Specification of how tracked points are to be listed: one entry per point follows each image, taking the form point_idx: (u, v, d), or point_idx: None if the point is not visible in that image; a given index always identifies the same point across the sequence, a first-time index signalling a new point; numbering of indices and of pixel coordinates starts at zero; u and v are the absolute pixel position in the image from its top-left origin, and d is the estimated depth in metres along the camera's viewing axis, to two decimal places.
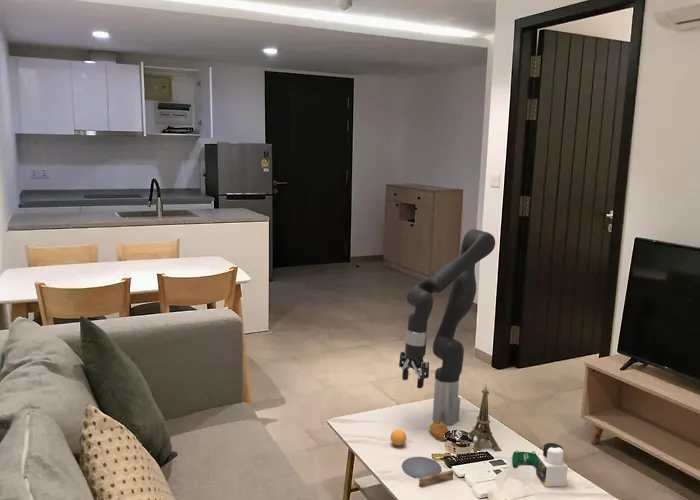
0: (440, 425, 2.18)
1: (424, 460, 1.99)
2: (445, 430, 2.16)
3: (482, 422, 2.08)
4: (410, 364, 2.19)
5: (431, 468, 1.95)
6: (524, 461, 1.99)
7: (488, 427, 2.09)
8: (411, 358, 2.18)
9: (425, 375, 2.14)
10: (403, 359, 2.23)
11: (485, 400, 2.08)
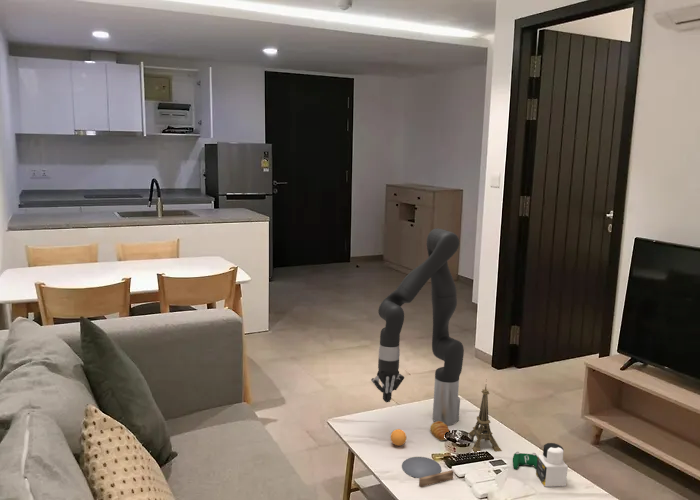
0: (441, 425, 2.18)
1: (424, 460, 1.99)
2: (446, 430, 2.16)
3: (482, 422, 2.08)
4: (389, 378, 2.13)
5: (431, 468, 1.95)
6: (525, 463, 1.98)
7: (488, 427, 2.09)
8: (388, 374, 2.13)
9: (394, 385, 2.16)
10: (379, 384, 2.13)
11: (485, 400, 2.08)
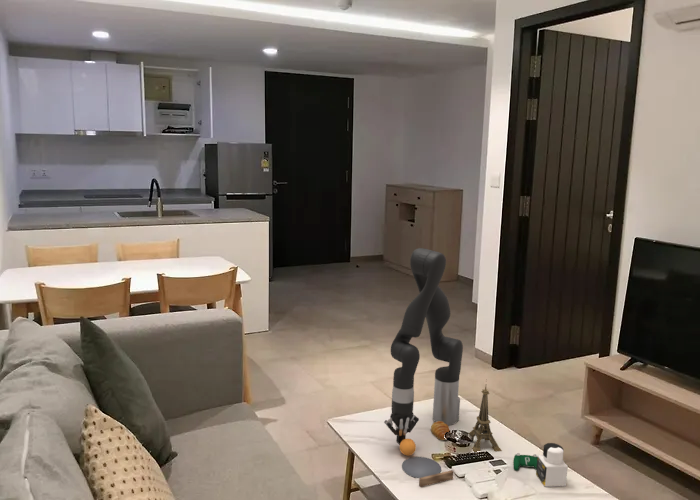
0: (442, 425, 2.18)
1: (424, 460, 1.99)
2: (447, 430, 2.16)
3: (482, 422, 2.08)
4: (403, 420, 2.05)
5: (431, 468, 1.95)
6: (525, 464, 1.97)
7: (488, 427, 2.09)
8: (402, 416, 2.04)
9: (408, 427, 2.07)
10: (392, 426, 2.04)
11: (485, 400, 2.08)
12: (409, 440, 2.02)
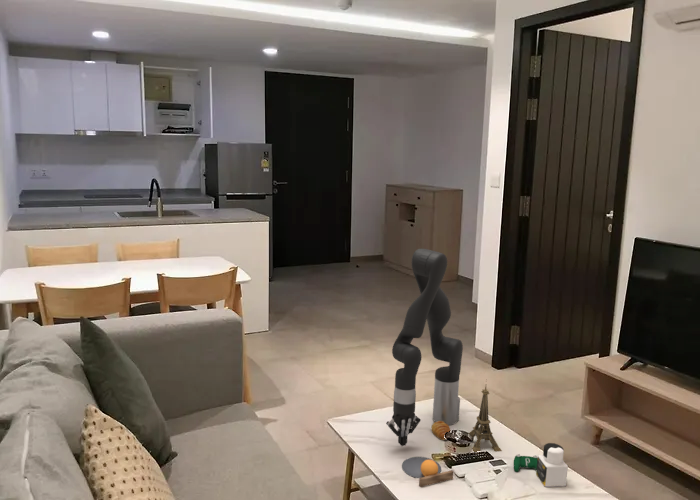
0: (442, 424, 2.18)
1: (424, 460, 1.99)
2: (447, 429, 2.16)
3: (482, 422, 2.08)
4: (405, 421, 2.04)
5: None
6: (526, 465, 1.96)
7: (488, 427, 2.09)
8: (404, 417, 2.04)
9: (410, 428, 2.07)
10: None
11: (485, 400, 2.08)
12: None
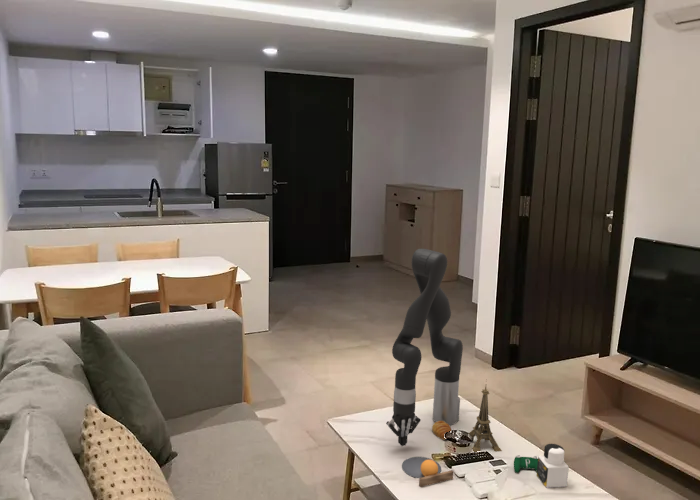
0: (443, 424, 2.19)
1: (424, 460, 1.99)
2: (448, 429, 2.16)
3: (482, 422, 2.08)
4: (405, 421, 2.04)
5: None
6: (526, 466, 1.96)
7: (488, 427, 2.09)
8: (404, 417, 2.04)
9: (410, 428, 2.07)
10: None
11: (485, 400, 2.08)
12: None
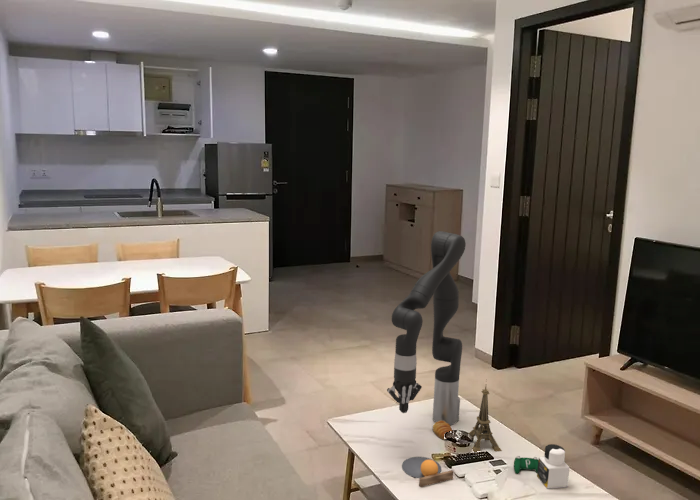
0: (444, 424, 2.19)
1: (424, 460, 1.99)
2: (449, 429, 2.17)
3: (482, 422, 2.08)
4: (406, 388, 2.02)
5: None
6: (526, 467, 1.95)
7: (488, 427, 2.09)
8: (405, 384, 2.02)
9: (411, 395, 2.05)
10: (395, 394, 2.02)
11: (485, 400, 2.08)
12: None
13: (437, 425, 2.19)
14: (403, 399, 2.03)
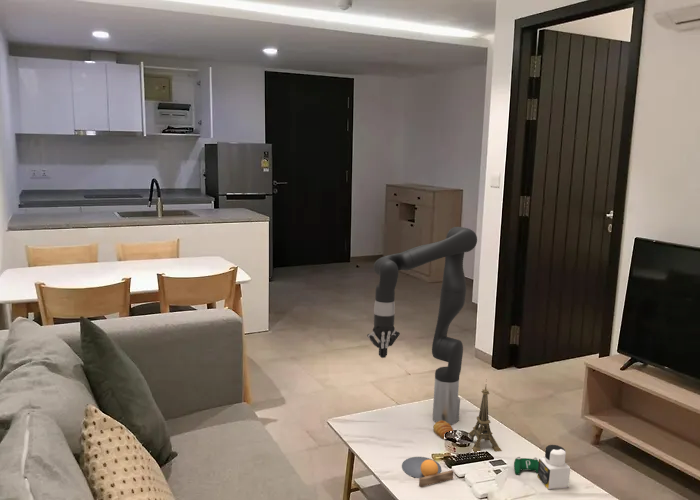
0: (444, 424, 2.19)
1: (424, 460, 1.99)
2: (450, 429, 2.17)
3: (482, 422, 2.08)
4: (385, 334, 2.17)
5: None
6: (526, 468, 1.95)
7: (488, 427, 2.09)
8: (384, 329, 2.16)
9: (390, 341, 2.20)
10: (374, 339, 2.16)
11: (485, 400, 2.08)
12: None
13: (438, 425, 2.19)
14: (382, 344, 2.17)
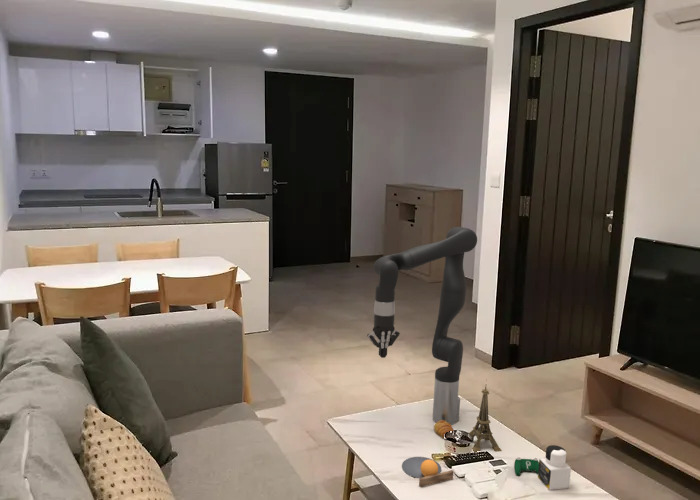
0: (445, 424, 2.19)
1: (424, 460, 1.99)
2: (450, 429, 2.17)
3: (482, 422, 2.08)
4: (385, 333, 2.17)
5: None
6: (526, 468, 1.94)
7: (488, 427, 2.09)
8: (384, 329, 2.16)
9: (390, 341, 2.20)
10: (374, 339, 2.16)
11: (485, 400, 2.08)
12: None
13: (438, 425, 2.19)
14: (382, 344, 2.17)
